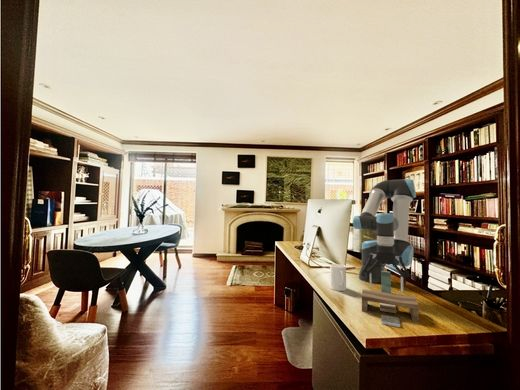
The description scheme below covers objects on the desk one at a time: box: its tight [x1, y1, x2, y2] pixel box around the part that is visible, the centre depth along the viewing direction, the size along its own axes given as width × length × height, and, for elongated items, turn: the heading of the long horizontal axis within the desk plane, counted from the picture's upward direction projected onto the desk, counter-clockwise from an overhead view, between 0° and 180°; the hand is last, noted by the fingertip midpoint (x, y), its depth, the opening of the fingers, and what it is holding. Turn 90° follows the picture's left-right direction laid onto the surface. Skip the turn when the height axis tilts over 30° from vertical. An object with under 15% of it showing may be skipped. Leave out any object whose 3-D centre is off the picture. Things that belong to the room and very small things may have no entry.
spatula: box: [379, 270, 397, 314], centre depth 109 cm, size 20×6×12 cm, turn 155°
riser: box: [361, 288, 420, 322], centre depth 100 cm, size 10×20×6 cm, turn 65°
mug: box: [329, 263, 347, 292], centre depth 127 cm, size 12×8×12 cm
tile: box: [380, 314, 401, 328], centre depth 91 cm, size 6×6×2 cm
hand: (386, 289), depth 117 cm, fingers open, 13 cm apart
